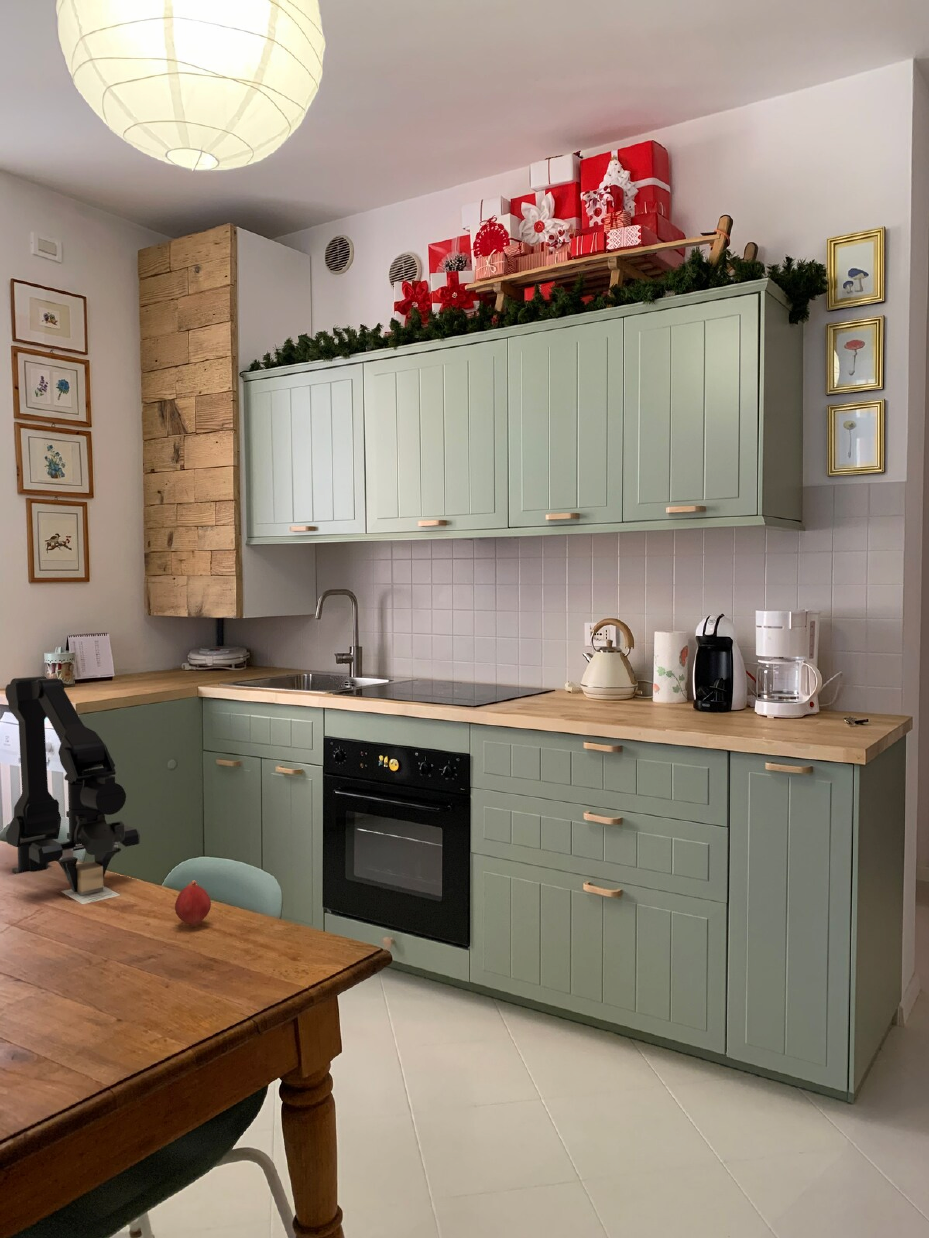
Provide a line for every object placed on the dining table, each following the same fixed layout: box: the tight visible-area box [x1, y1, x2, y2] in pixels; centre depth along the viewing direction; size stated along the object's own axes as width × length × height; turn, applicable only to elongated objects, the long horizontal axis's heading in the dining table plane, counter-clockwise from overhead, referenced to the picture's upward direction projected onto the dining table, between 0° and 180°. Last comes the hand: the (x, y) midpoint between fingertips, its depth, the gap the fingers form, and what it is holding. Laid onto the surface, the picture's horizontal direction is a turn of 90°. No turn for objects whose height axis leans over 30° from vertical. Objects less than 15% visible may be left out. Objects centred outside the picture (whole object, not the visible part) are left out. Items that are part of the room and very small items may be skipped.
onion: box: [174, 880, 212, 928], centre depth 159 cm, size 6×6×8 cm
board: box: [61, 885, 121, 905], centre depth 174 cm, size 10×7×1 cm
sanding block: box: [70, 860, 104, 895], centre depth 175 cm, size 5×4×4 cm
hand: (87, 889), depth 175 cm, fingers closed on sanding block, 4 cm apart
